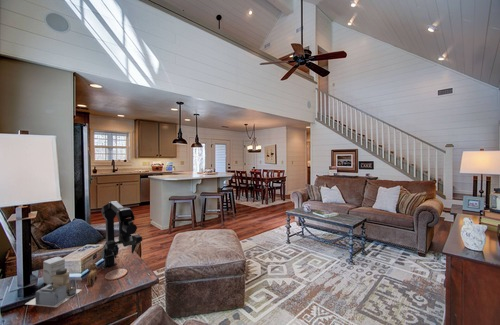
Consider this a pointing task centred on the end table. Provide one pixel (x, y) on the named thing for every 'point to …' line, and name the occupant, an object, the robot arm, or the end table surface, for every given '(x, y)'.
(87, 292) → the end table surface
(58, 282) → the knob
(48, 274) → the supplement box
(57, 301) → the mount
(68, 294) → the potentiometer
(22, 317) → the end table surface
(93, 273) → the lion figurine
